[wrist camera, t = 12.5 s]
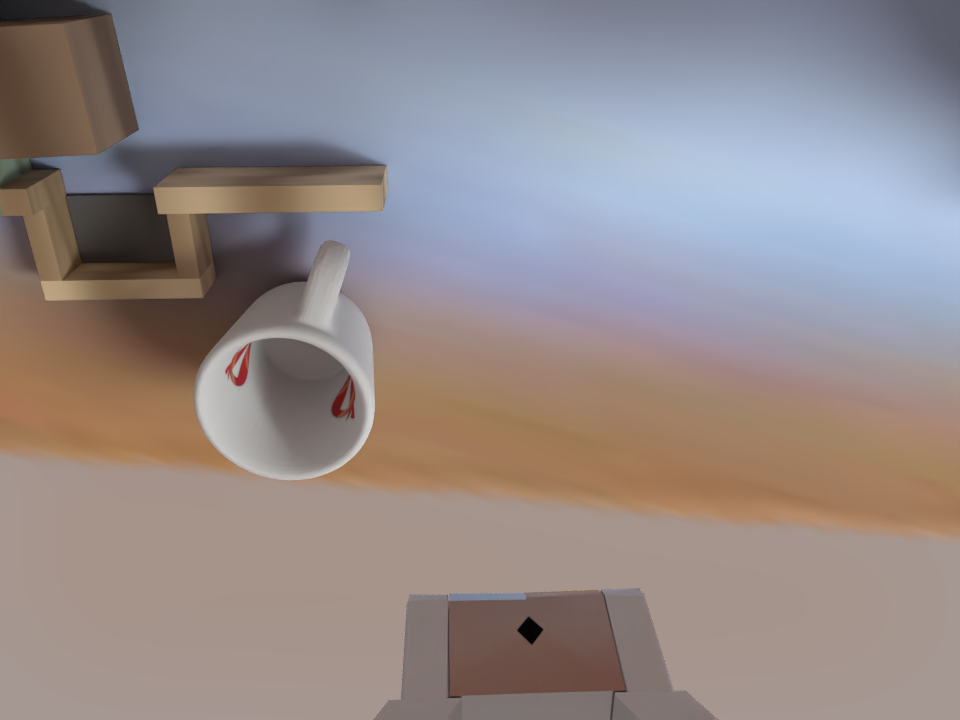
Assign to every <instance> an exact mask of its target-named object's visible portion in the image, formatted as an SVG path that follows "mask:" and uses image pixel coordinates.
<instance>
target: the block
mask: <svg viewBox="0 0 960 720" xmlns="http://www.w3.org/2000/svg"><path fill="white" fill-rule="evenodd" d="M138 130H139V128H138V124H137V120H136V116H135V112H134V107H133V103H132V99H131V95H130V91H129V86H128V82H127V78H126V74H125V70H124V65H123V61H122V57H121V53H120V49H119V44H118V40H117V36H116V32H115V28H114V23H113V19H112V15H111V14H100V15H81V16H63V17H44V18H25V19H6V20H0V160H1V159H19V158H37V157H56V156H74V155H92V154H99V153H101V152H102V151H104V150H106V149H107V148H109V147H111V146H112V145H114V144H116V143H118V142H119V141H121V140H123V139H124V138H126V137H128V136H129V135H131V134H133V133H134V132H136V131H138Z"/></svg>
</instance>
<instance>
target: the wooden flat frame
mask: <svg viewBox="0 0 960 720" xmlns="http://www.w3.org/2000/svg"><path fill="white" fill-rule="evenodd" d="M153 190H154V194H110V195H67V194H66V190H65V186H64V182H63V178H62V174H61V170H60V169H39V170H33V169H32V165H31V161H30V158H19V159H1V160H0V216H23V219H24V223H25V226H26V230H27V234H28V237H29V241H30V245H31V248H32V252H33V256H34V259H35V263H36V267H37V270H38V274H39V278H40V281H41V285H42V289H43V292H44V296H45V300H46V301H50V300H112V299H173V298H204V296H205V295H206V293H207V292H208V290H209V289H210V288H211V286H212V285H213V283H214V282H215V280H216V273H215V267H214V261H213V255H212V249H211V243H210V237H209V231H208V224H207V218H206V213H276V212H352V211H383V208H384V204H385V200H386V196H387V192H388V181H387V166H300V167H213V168H176V169H175V170H174V171H173V172H171V173H170V174H169V175H168V176H167V177H165V178H164V179H163V180H162V181H160V182H159V183H158V184H157V185H156V186H154V187H153Z"/></svg>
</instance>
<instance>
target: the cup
mask: <svg viewBox="0 0 960 720" xmlns="http://www.w3.org/2000/svg"><path fill="white" fill-rule="evenodd" d="M349 259H350V249H349V248H348V247H347V246H346V245H343V244H341V243H339V242H335V241H325V242H324V243H323V244H322V245H321V247H320V249H319V251H318V254H317V256H316V258H315V261H314V263H313V266H312V269H311V272H310V275H309V277H308V280H307V282H293V283H287V284H283V285H281V286H278V287H275V288H273V289H271V290H270V291H268V292H266V293H265V294H263V295H262V296H261V297H259V298H258V299H257V300H256V301H255V302H254V303H253V304H252V305H251V306H250V307H249V308H248V309H247V310H246V311H245V312H244V314H243V315H242V316H241V317H240V318H239V319H238V320H237V321H236V323H235V324H234V325H233V326H232V327H231V328H230V329H229V330H228V331H227V333H226V334H225V335H224V336H223V337H222V338H221V339H220V340H219V342H218V343H217V344H216V345H215V346H214V347H213V348H212V349H211V351H210V352H209V353H208V354H207V356H206V357H205V359H204V361H203V362H202V364H201V366H200V368H199V370H198V373H197V376H196V380H195V385H194V407H195V412H196V416H197V419H198V422H199V424H200V426H201V428H202V430H203V432H204V434H205V435H206V437H207V438H208V440H209V441H210V442H211V444H212V445H213V446H214V447H215V448H216V449H217V450H218V451H219V452H220V453H221V454H222V455H223V456H224V457H226V458H227V459H228V460H230V461H231V462H233V463H234V464H236V465H237V466H239V467H241V468H243V469H245V470H247V471H249V472H252V473H255V474H257V475H261V476H264V477H268V478H274V479H281V480H301V479H309V478H314V477H318V476H321V475H324V474H327V473H329V472H331V471H333V470H335V469H337V468H339V467H341V466H342V465H344V464H345V463H346V462H348V461H349V460H350V459H351V458H352V457H353V456H354V455H355V454H356V453H357V452H358V451H359V450H360V448H361V447H362V446H363V444H364V443H365V441H366V439H367V437H368V435H369V433H370V430H371V427H372V424H373V419H374V412H375V397H374V370H373V346H372V338H371V333H370V330H369V327H368V324H367V322H366V320H365V318H364V316H363V314H362V313H361V311H360V310H359V308H358V307H357V306H356V305H355V304H354V303H353V302H352V301H351V300H350V299H349V298H348V297H347V296H345V295H344V294H342V293H341V292H340V289H341V286H342V283H343V279H344V276H345V273H346V270H347V266H348V262H349Z"/></svg>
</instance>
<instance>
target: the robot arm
mask: <svg viewBox="0 0 960 720" xmlns="http://www.w3.org/2000/svg"><path fill="white" fill-rule="evenodd" d="M373 720H718V719H717V718H716V717H715V716H714V715H713V714H712V713H710V712H709V711H708V710H707V709H706V708H705V707H704V706H703V705H701V704H700V703H699V702H698V701H697V700H695V698H693V697H692V696H691V695H690V694H689V693H688V692H687V691H674V690H673V687H672V684H671V680H670V677H669V674H668V670H667V667H666V664H665V661H664V658H663V654H662V651H661V648H660V644H659V641H658V638H657V635H656V631H655V628H654V625H653V622H652V619H651V616H650V612H649V609H648V606H647V602H646V599H645V596H644V593H643V592H642V591H641V590H640V589H639V588H630V589H607V590H606V589H605V590H601V591H599V590H587V591H563V592H534V593H502V594H501V593H493V594H492V593H489V594H488V593H481V594H449V601H448V595H409V598H408V602H407V610H406V627H405V642H404V659H403V674H402V690H401V700H389V701H388V702H387V703H386V705H385V706H384V707H383V708H382V710H381V711H380V712H379V713H378V714H377V716H376V717H375V718H374V719H373Z"/></svg>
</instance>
